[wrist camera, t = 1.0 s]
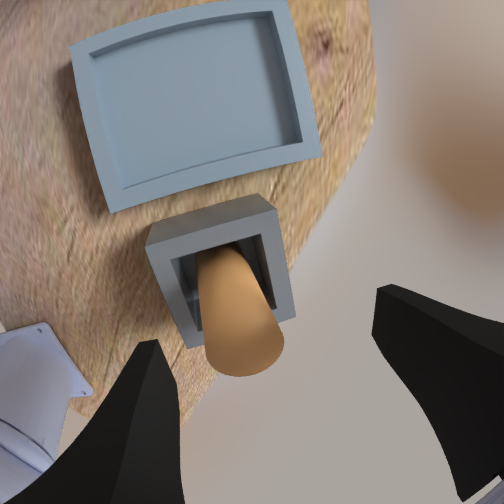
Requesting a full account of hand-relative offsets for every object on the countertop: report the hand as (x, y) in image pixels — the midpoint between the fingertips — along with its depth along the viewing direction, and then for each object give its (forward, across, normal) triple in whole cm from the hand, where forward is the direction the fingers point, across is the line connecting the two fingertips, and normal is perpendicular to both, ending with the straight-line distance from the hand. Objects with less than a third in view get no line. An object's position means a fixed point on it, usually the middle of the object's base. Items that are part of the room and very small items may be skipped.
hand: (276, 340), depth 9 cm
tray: (+10, +1, -9) cm, 14 cm away
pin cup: (+10, +1, +2) cm, 11 cm away
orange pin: (+10, +1, +2) cm, 10 cm away
